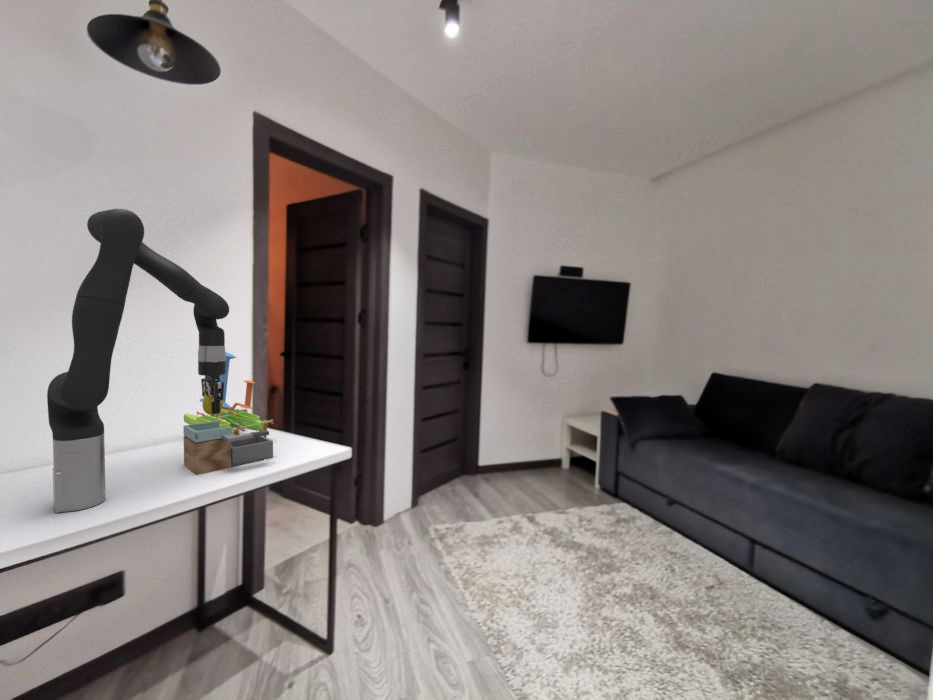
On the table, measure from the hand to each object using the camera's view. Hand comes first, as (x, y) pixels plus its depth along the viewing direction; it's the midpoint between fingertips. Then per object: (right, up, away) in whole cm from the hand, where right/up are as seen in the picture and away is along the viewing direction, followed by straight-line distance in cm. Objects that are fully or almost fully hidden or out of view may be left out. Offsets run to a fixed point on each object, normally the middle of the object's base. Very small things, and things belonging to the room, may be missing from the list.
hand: (212, 411), depth 130 cm
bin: (+6, -17, +9) cm, 20 cm away
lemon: (0, -2, 0) cm, 2 cm away
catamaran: (-11, -16, +28) cm, 34 cm away
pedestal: (-1, -17, 0) cm, 18 cm away
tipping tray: (+4, -8, +1) cm, 9 cm away
